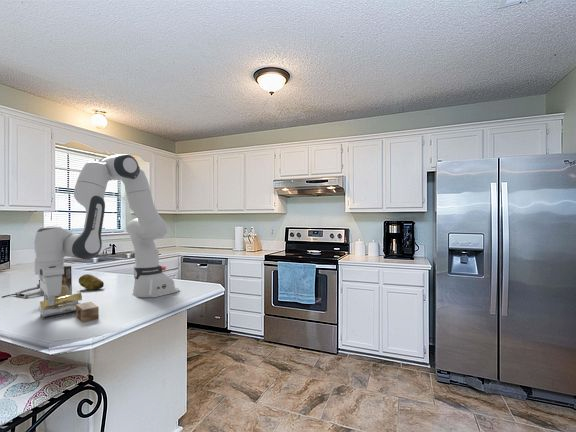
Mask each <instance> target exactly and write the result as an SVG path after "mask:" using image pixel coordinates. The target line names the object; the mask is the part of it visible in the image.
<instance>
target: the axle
mask: <svg viewBox="0 0 576 432" xmlns="http://www.w3.org/2000/svg"><path fill="white" fill-rule="evenodd" d="M82 299H83V296H82V293H81V292H77V293H72V295H68V296H63V297H59V298H55V300H54V305H52V306H49V305H48V300H45V301H44V300H42V301H39V306H40V308H41V310H42V309H46V308H50V307H54V306H58V305H63V304H67V303H71V302H75V301H78V302H79V301H82ZM40 308H39V309H40Z"/></svg>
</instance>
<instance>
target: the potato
mask: <svg viewBox="0 0 576 432" xmlns="http://www.w3.org/2000/svg"><path fill="white" fill-rule="evenodd" d="M78 284H79V285H80V286H81V287H83V288H84V289H86V290H87V291H96V290H100V289H102V288H103V287H104V285H105V283H104V281H103V280H101V279H100V278H98V277H96V276H94V275H93V274H89V273H88V274H82V275H81V276H80V277H78Z"/></svg>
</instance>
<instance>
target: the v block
mask: <svg viewBox="0 0 576 432" xmlns="http://www.w3.org/2000/svg"><path fill="white" fill-rule="evenodd" d="M76 304H81V302H79V301H75V302H71V303H67V304H63V305H58V306H54V307H50V308H46V309H42V310H41V308H39V313H40V314H39V316H40V318H41V319H42V320H43V321H46V320H50V319H55V318H56V319H57V318H60V317H65V316H70V315H71V316H72V315H76Z"/></svg>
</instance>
